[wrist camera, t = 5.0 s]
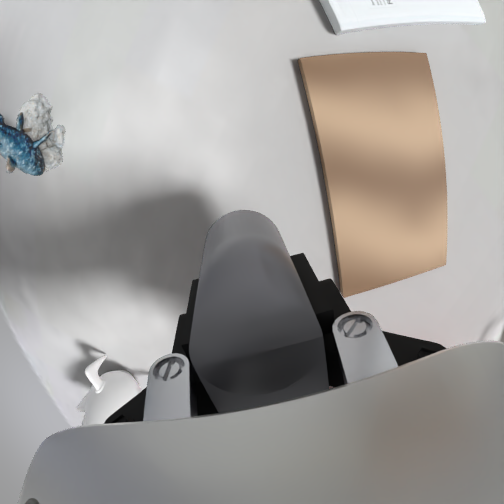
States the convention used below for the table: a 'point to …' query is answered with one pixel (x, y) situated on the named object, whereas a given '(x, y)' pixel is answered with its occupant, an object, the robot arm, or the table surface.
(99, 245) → the table surface
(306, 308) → the connector
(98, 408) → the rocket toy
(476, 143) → the table surface
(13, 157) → the sculpture
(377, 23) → the external hard drive
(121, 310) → the table surface
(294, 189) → the table surface
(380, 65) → the wood pad
